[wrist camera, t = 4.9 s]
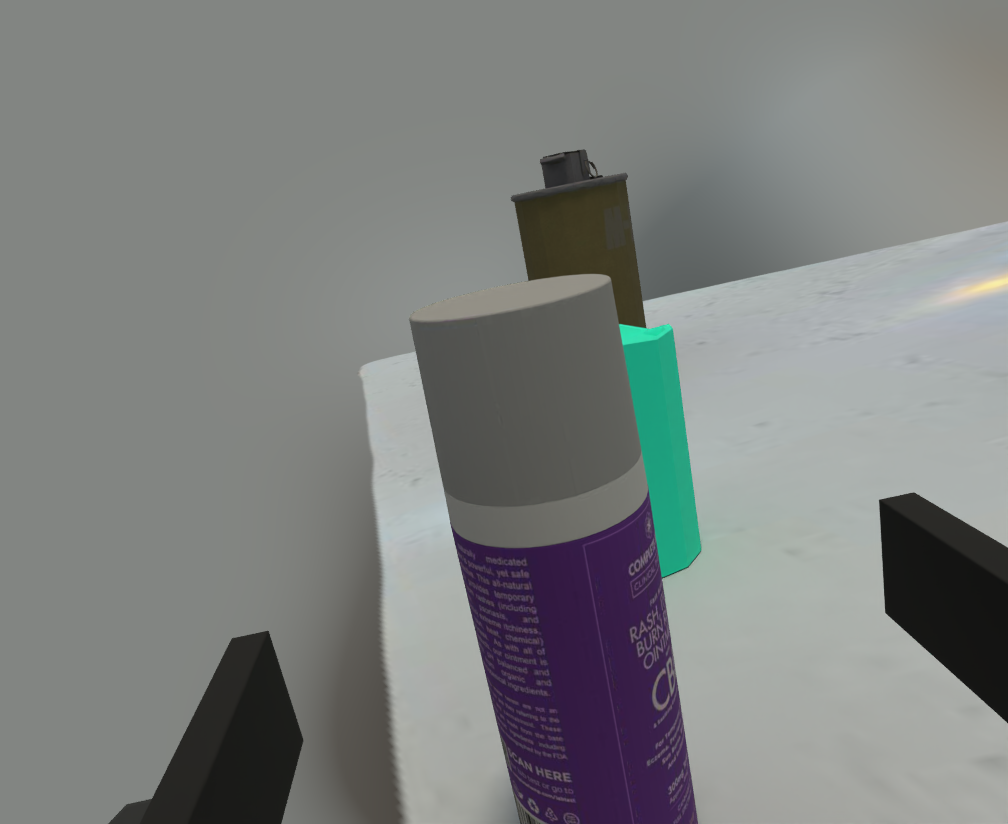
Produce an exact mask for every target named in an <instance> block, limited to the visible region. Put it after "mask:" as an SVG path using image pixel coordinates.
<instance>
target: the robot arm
mask: <svg viewBox="0 0 1008 824" xmlns="http://www.w3.org/2000/svg"><path fill="white" fill-rule="evenodd" d="M879 505H880V523H881V542H882V560H883V578H884V597H885V613H886V614H887V615H888V616H889V617H890V618H892V619H893V620H894V621H895V622H896V623H897V624H898V625H899V626H900V627H902V628H903V629H904V630H905V631H906V632H907V633H908V634H909V635H911V636H912V637H913V638H914V639H915V640H916V641H917V642H918V643H919V644H921V645H922V646H923V647H924V648H925V649H926V650H927V651H928V652H929V653H931V654H932V655H933V656H934V657H935V658H936V659H937V660H938V661H939V662H941V663H942V664H943V665H944V666H945V667H946V668H947V669H948V670H949V671H951V672H952V673H953V674H954V675H955V676H956V677H957V678H958V679H959V680H961V681H962V682H963V683H964V684H965V685H966V686H967V687H968V688H969V689H971V690H972V691H973V692H974V693H975V694H976V695H977V696H978V697H979V698H981V699H982V700H983V701H984V702H985V703H986V704H987V705H988V706H989V707H991V708H992V709H993V710H994V711H995V712H996V713H997V714H998V715H999V716H1001V717H1002V718H1003V719H1004V720H1005V721H1006V722H1007V723H1008V548H1007V547H1006V546H1004V545H1002V544H1001V543H999V542H997V541H996V540H994V539H992V538H990V537H989V536H987V535H985V534H984V533H982V532H980V531H979V530H977V529H975V528H973V527H972V526H970V525H968V524H967V523H965V522H963V521H962V520H960V519H958V518H957V517H955V516H953V515H951V514H950V513H948V512H946V511H945V510H943V509H941V508H940V507H938V506H936V505H934V504H933V503H931V502H929V501H928V500H926V499H924V498H923V497H921V496H919V495H917V494H916V493H909V494H904V495H900V496H895V497H890V498H886V499H881V500H879ZM302 744H303V738H302V734H301V731H300V728H299V725H298V722H297V719H296V715H295V712H294V709H293V706H292V703H291V700H290V697H289V694H288V691H287V687H286V684H285V681H284V678H283V675H282V672H281V669H280V665H279V662H278V659H277V656H276V653H275V650H274V647H273V644H272V640H271V638H270V634H269V631H265V632H260V633H256V634H251V635H247V636H242V637H237V638H232V640H231V641H230V643H229V645H228V648H227V649H226V651H225V654H224V655H223V657H222V659H221V661H220V663H219V666H218V667H217V669H216V671H215V673H214V675H213V678H212V680H211V681H210V683H209V686H208V688H207V690H206V692H205V694H204V696H203V698H202V700H201V702H200V704H199V706H198V708H197V710H196V712H195V714H194V716H193V718H192V720H191V722H190V724H189V726H188V728H187V730H186V732H185V734H184V736H183V738H182V740H181V742H180V744H179V746H178V748H177V750H176V752H175V754H174V756H173V758H172V760H171V762H170V764H169V766H168V768H167V770H166V772H165V774H164V776H163V778H162V780H161V782H160V784H159V786H158V788H157V790H156V792H155V794H154V796H153V798H152V799H150V800H146V801H141V802H136V803H131V804H127V805H126V806H125V807H124V808H123V809H122V810H121V811H120V812H119V813H118V814H117V815H116V816H115V817H114V818H113V820H111V822H110V823H109V824H281V822H282V819H283V815H284V811H285V807H286V804H287V800H288V796H289V792H290V789H291V784H292V781H293V777H294V773H295V770H296V766H297V762H298V759H299V755H300V751H301V747H302Z"/></svg>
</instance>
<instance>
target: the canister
mask: <svg viewBox="0 0 1008 824" xmlns="http://www.w3.org/2000/svg"><path fill="white" fill-rule="evenodd" d="M547 157H548V158H547ZM540 163H541V165H542V170H543V176H544V182H545V188H546V189H542V190H536V191H531V192H527V193H522V194H517V195H513V196H512V197H511V201H513V202H515V208H516V213H517V219H518V224H519V230H520V235H521V241H522V247H523V252H524V258H525V263H526V269H527V274H528V280H529V281H531V280H537V279H544V278H552V277H559V276H568V275H581V274H602V275H607V276H609V277H610V278H611V282H612V288H613V294H614V299H615V305H616V310H617V316H618V322H619V324H623V325H629V326H635V327H641V328H646V323H645V316H644V309H643V302H642V295H641V287H640V280H639V273H638V266H637V259H636V251H635V244H634V238H633V230H632V223H631V216H630V209H629V202H628V194H627V187H626V180H627V177H628V175H627V174H626V173H623V174H617V175H611V176H606V177H603V176H602V175H600V176H598V173H597V169H596V167H595V165H594V164H593V163H592V162H590V161H588V158H587V153H586V150H577V151H571V152H563V153H558V154H554V155H550V156H546V157H543V159H540ZM589 163H590V164H591V165H592V167H593V168H594V169H595V171H596V176H593V175H592V174H591V172H590V167H589ZM589 174H590V175H591V176H592V177H589Z"/></svg>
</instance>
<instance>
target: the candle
mask: <svg viewBox="0 0 1008 824" xmlns="http://www.w3.org/2000/svg"><path fill="white" fill-rule="evenodd" d="M619 327H620V333H621V339H622V344H623V350H624V355H625V361H626V367H627V372H628V378H629V383H630V389H631V395H632V400H633V406H634V412H635V417H636V423H637V428H638V434H639V440H640V445H641V451H642V456H643V462H644V468H645V473H646V479H647V484H648V488H649V495H650V502H651V508H652V515H653V522H654V529H655V535H656V542H657V549H658V556H659V563H660V569H661V576H662V578H663V577H665V576H667V575H670V574H672V573H674V572H677V571H679V570H681V569H684V568H686V567H688V566H689V565H690V564H691V563H692V561H693V560H694V559H695V558H696V556H697V555H698V554H699V553H700V551H701V544H700V536H699V528H698V520H697V513H696V505H695V497H694V489H693V482H692V474H691V466H690V459H689V451H688V443H687V435H686V428H685V420H684V412H683V404H682V397H681V389H680V381H679V373H678V366H677V358H676V350H675V342H674V335H673V328H672V327H671V326H670V325H669V324H667V325H663V326H659V327H656V328H652V329H647V328H641V327H635V326H629V325H623V324H619Z"/></svg>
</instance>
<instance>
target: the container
mask: <svg viewBox="0 0 1008 824" xmlns="http://www.w3.org/2000/svg"><path fill="white" fill-rule="evenodd" d="M409 320H410V325H411V330H412V335H413V340H414V345H415V349H416V354H417V359H418V364H419V369H420V374H421V379H422V384H423V389H424V394H425V399H426V404H427V409H428V413H429V418H430V423H431V428H432V433H433V438H434V443H435V448H436V453H437V458H438V463H439V468H440V473H441V477H442V482H443V487H444V492H445V497H446V502H447V507H448V512H449V517H450V524H451V528H452V532H453V537H454V541H455V545H456V549H457V554H458V558H459V562H460V567H461V571H462V575H463V579H464V584H465V588H466V592H467V596H468V601H469V605H470V609H471V614H472V618H473V622H474V626H475V631H476V635H477V639H478V644H479V648H480V652H481V656H482V661H483V665H484V669H485V673H486V678H487V682H488V686H489V691H490V695H491V699H492V703H493V708H494V712H495V716H496V721H497V725H498V729H499V733H500V738H501V742H502V746H503V750H504V755H505V759H506V763H507V768H508V772H509V776H510V780H511V785H512V789H513V793H514V798H515V802H516V806H517V810H518V815H519V819H520V823H521V824H698V820H697V813H696V806H695V800H694V793H693V786H692V779H691V773H690V766H689V759H688V752H687V745H686V739H685V732H684V725H683V718H682V712H681V705H680V698H679V691H678V685H677V678H676V671H675V664H674V657H673V651H672V644H671V637H670V630H669V624H668V617H667V610H666V603H665V596H664V590H663V583H662V576H661V569H660V563H659V556H658V549H657V542H656V535H655V529H654V522H653V515H652V508H651V502H650V495H649V488H648V484H647V479H646V473H645V468H644V462H643V456H642V451H641V445H640V440H639V434H638V428H637V423H636V417H635V412H634V406H633V400H632V395H631V389H630V383H629V378H628V372H627V367H626V361H625V355H624V350H623V344H622V339H621V333H620V327H619V322H618V316H617V310H616V305H615V299H614V294H613V288H612V282H611V278H610V277H609V276H607V275H602V274H581V275H568V276H559V277H552V278H544V279H537V280H531V281H525V282H520V283H514V284H509V285H504V286H499V287H495V288H490V289H485V290H481V291H477V292H473V293H469V294H465V295H461V296H457V297H453V298H450V299H446V300H443V301H440V302H437V303H434V304H431V305H429V306H426V307H423V308H421V309H419V310H417V311H415V312H413V313H412V314H411V315H410V317H409Z"/></svg>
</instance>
